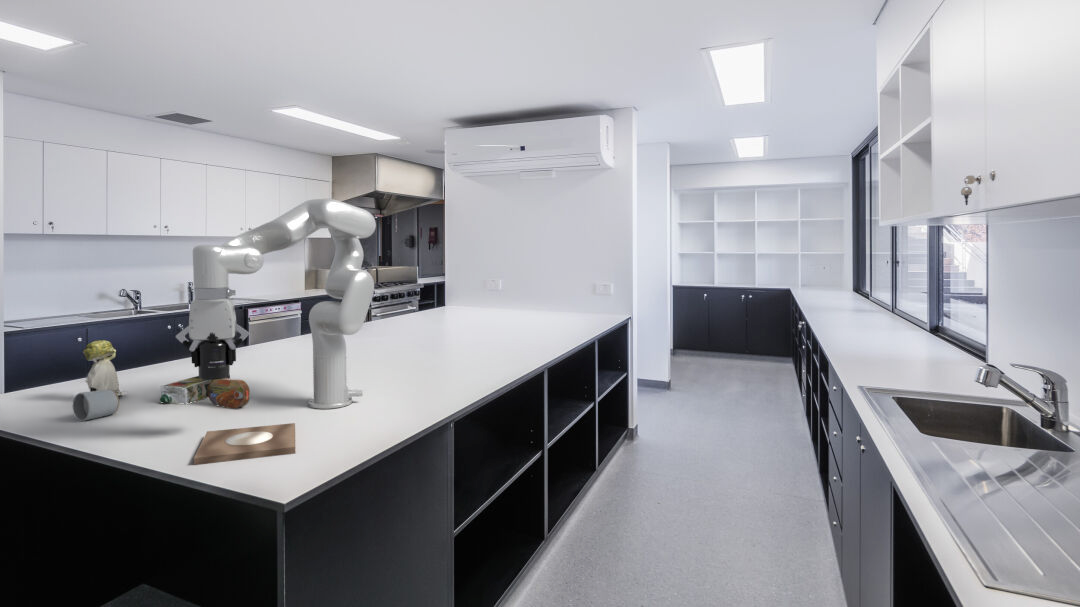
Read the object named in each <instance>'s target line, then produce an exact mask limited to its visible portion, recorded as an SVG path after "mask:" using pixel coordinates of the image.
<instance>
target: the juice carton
mask: <svg viewBox="0 0 1080 607" xmlns="http://www.w3.org/2000/svg"><path fill="white" fill-rule="evenodd" d="M227 378H228V379H231V375H229V376H228V377H227ZM211 381H212V380H202V379H200V378H199V375H197V376H192V377H188V378H186V379H182V380H178V381H174V382H171V383H167V384H165V385H161V386H160V397H159V402H160V403H161V402H166V403H169V404H172V403H184V404H183V405H188V404H187V403H190V402H192V403H195V402H194V401H196V402H198V400H199V401H200V400H201V399H202V400H204V399H203V398H205V399H207V398H206V397H208V386H209V384H210V382H211ZM208 398H209V397H208ZM202 400H201V401H202ZM190 404H191V403H190Z"/></svg>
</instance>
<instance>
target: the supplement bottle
mask: <svg viewBox="0 0 1080 607" xmlns="http://www.w3.org/2000/svg"><path fill="white" fill-rule="evenodd" d="M206 339H208V340H206V341H201V342H200V343H199V345H198V376H199V378H200V379H202V380H217V379H224V378H227V377H228V376H229V375H230V374H231V373H230V372H231V371H230V369H231V368H230V367H231V365H229V358H228V350H229V347H230V346H229V345H228V343H227V342H226V340H218V337H217V336H216V337H215V333H214V334H213V332H212V334H211V333H210V335H209V336H208V337H207V338H206ZM230 376H231V375H230Z"/></svg>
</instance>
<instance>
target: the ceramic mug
mask: <svg viewBox="0 0 1080 607" xmlns="http://www.w3.org/2000/svg"><path fill="white" fill-rule="evenodd" d="M119 407H120V399H119V395H118V396H117V394H116V393H115V392H114V391H112V390H100V391H91V392H90V391H83V392H82V391H81V392H79V393H76V395H75V396H74V398H73V400H72V410H73V414H74V416H75V418H76V419H77V420H78V421H80V422H86V421H89V420H90V419H91V420H96V419H99V418H104V417H107V416H112V415H113V414H115V413H116V412H117V411H118V409H119ZM103 416H104V417H103Z"/></svg>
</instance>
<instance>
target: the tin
mask: <svg viewBox="0 0 1080 607" xmlns="http://www.w3.org/2000/svg"><path fill="white" fill-rule="evenodd" d="M250 391H251V390H250V387H249V385H248V383H247V382H246V381H245V380H243V379H235V378H230V379H228V378H224V379H217V380H212V381H211V382H210V384H209V386H208V399H209V402H210V404H212V405H214V406H215V405H219V406H218V407H220V406H224V407H223V408H227V407H229V408H228V409H234V408H235V409H238V408H242V407H245V406H246V405H248V403H249V401H250V395H251V393H250Z"/></svg>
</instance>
